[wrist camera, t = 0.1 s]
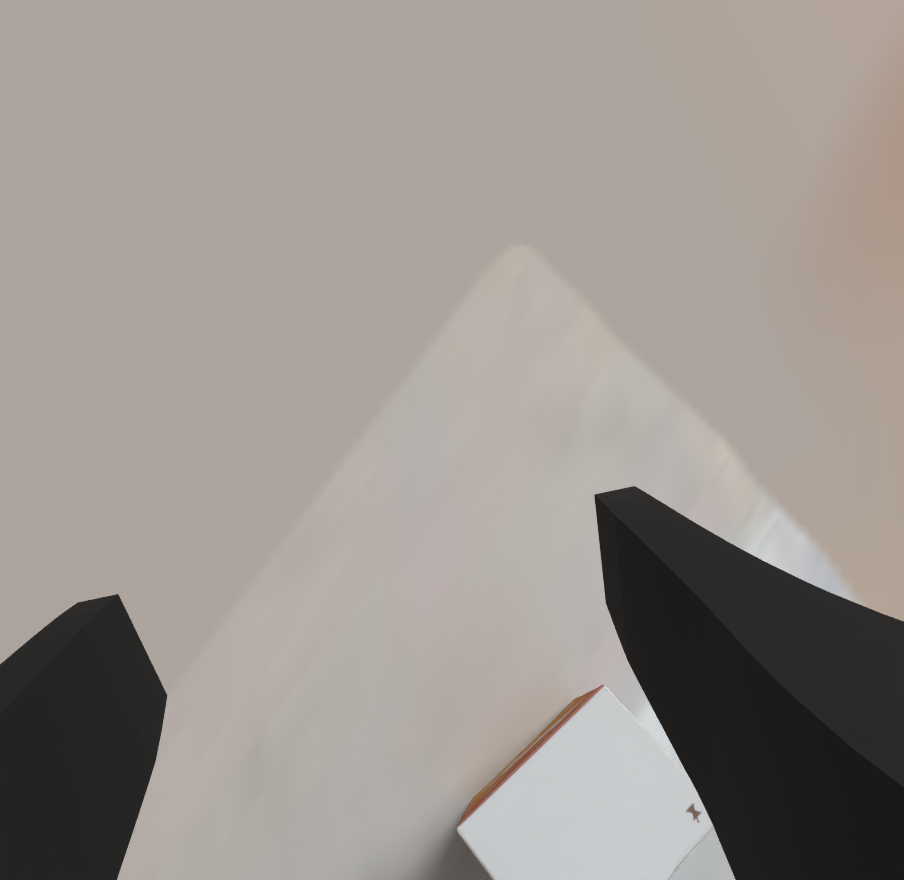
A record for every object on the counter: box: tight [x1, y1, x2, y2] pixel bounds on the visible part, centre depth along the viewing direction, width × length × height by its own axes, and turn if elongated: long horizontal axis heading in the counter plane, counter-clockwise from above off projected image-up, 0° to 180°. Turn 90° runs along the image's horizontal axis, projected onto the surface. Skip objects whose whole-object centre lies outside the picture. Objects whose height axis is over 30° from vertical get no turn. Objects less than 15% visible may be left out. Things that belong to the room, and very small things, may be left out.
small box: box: [456, 685, 714, 880], centre depth 32 cm, size 8×6×13 cm
